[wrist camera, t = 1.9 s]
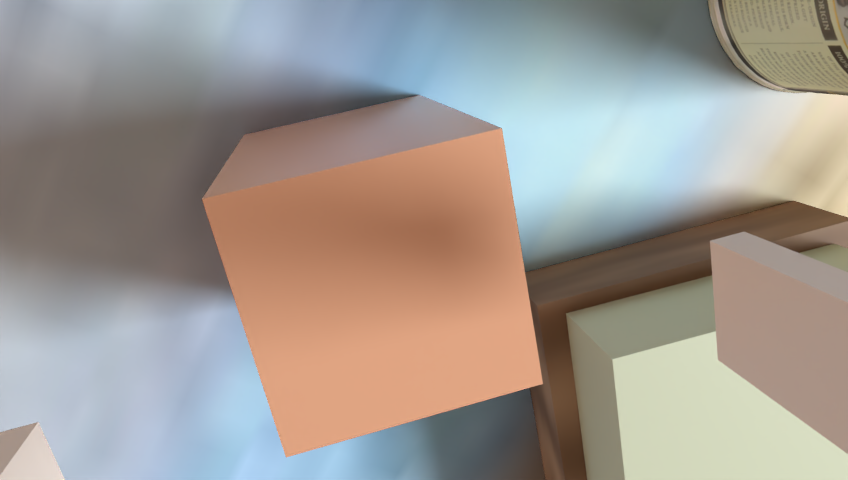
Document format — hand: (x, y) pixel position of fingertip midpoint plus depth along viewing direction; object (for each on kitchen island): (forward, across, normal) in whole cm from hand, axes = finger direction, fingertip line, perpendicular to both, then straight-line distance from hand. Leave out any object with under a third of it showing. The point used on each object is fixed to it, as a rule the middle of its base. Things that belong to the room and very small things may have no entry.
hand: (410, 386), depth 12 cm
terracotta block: (+15, 0, 0) cm, 15 cm away
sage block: (+11, +13, -11) cm, 21 cm away
